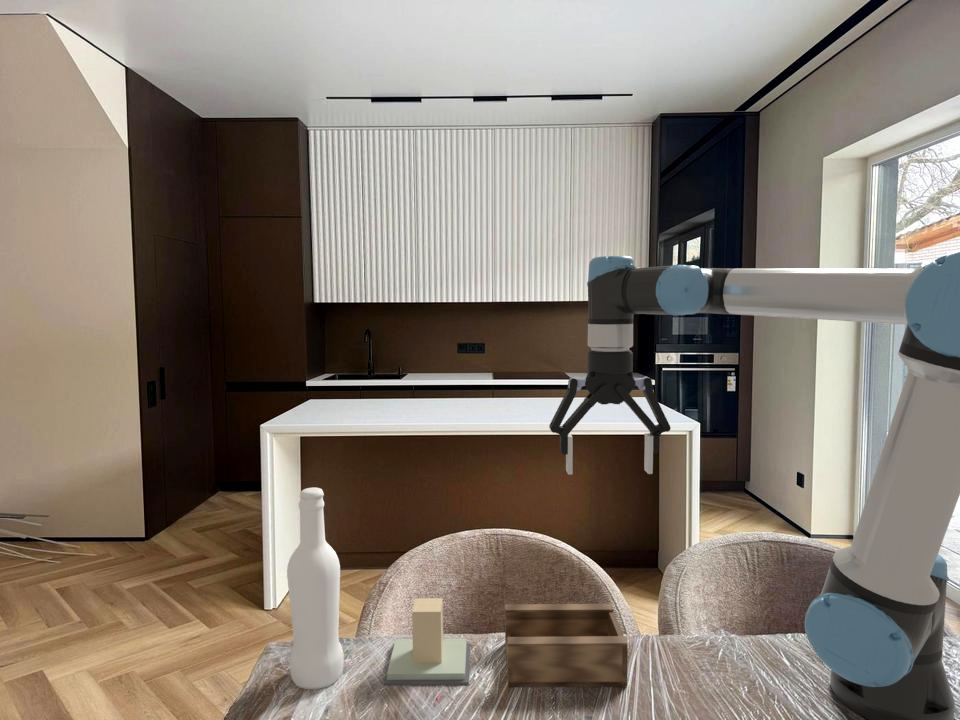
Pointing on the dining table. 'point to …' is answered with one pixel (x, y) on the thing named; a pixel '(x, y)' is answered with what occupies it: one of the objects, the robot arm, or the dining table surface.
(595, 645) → the walnut box
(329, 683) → the bottle
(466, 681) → the mat
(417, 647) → the lid
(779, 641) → the dining table surface
